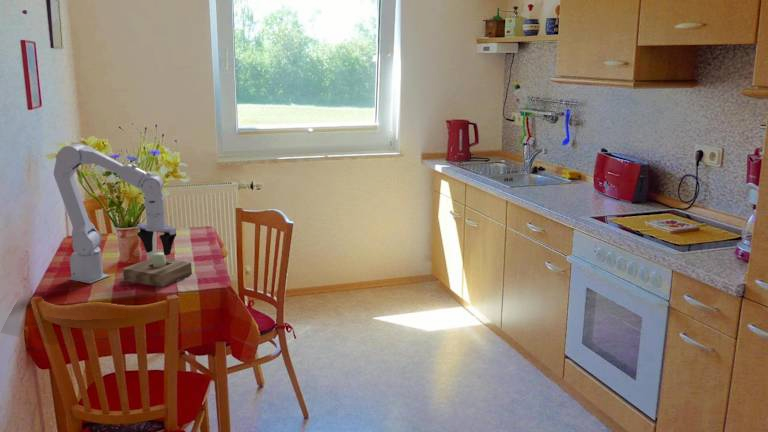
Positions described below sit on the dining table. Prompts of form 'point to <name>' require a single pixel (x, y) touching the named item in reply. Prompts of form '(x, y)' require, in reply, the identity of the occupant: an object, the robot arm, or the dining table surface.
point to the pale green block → (159, 260)
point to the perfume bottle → (154, 241)
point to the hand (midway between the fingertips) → (158, 253)
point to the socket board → (157, 272)
